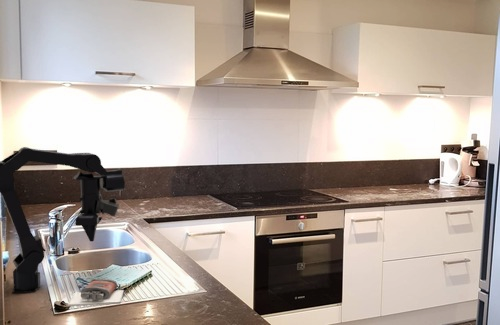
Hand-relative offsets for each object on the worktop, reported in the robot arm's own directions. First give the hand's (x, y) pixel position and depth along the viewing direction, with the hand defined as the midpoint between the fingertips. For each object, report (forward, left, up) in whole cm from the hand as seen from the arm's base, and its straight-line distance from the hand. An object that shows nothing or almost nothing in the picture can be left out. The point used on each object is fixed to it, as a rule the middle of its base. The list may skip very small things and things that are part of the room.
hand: (92, 241), depth 155 cm
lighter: (+5, -13, -10) cm, 17 cm away
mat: (+4, -19, -12) cm, 22 cm away
